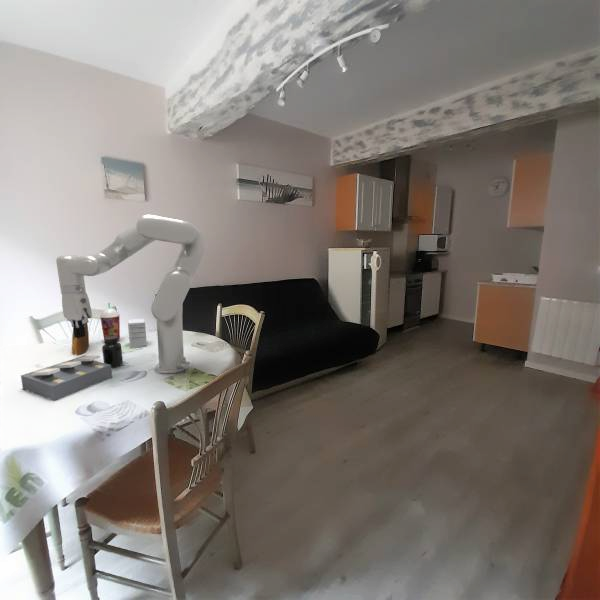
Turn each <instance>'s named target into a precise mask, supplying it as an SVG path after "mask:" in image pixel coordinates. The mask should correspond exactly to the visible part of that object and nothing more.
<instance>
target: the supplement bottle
mask: <svg viewBox="0 0 600 600" xmlns="http://www.w3.org/2000/svg"><path fill="white" fill-rule="evenodd" d="M103 342H104V344H103V345H102V347H101V350H102V351H101V352H102V359H103V363H106V364H109V365H111V369H114V368H115V369H116V368H120V367H121V366H122V365H123V363H124V361H123V360H124V359H123V350H122V344H121V343H120V342H119V341H118V337H116V336H110V337H106V338H104V337H103Z"/></svg>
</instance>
